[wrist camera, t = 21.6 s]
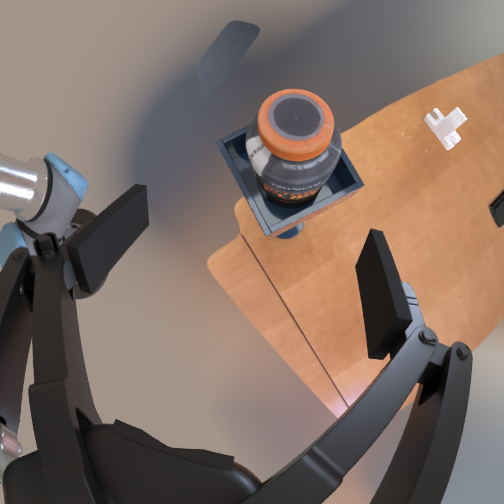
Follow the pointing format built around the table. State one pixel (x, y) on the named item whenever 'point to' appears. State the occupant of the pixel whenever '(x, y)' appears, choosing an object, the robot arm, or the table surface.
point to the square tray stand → (279, 218)
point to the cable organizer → (445, 126)
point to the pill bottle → (293, 147)
